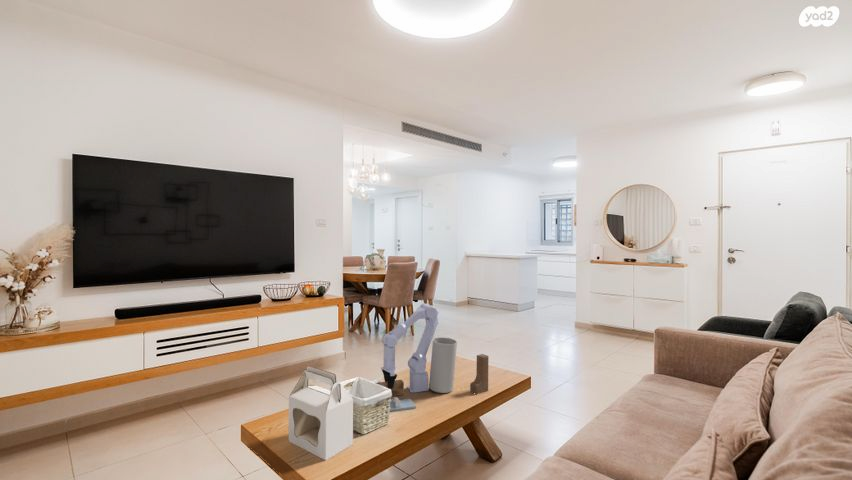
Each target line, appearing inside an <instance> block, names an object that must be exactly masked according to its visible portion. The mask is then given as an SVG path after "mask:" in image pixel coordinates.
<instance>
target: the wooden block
mask: <svg viewBox="0 0 852 480" xmlns="http://www.w3.org/2000/svg"><path fill="white" fill-rule="evenodd" d="M486 390H488V391H489V355H487V354H484V353H481V354H477V355H476V376H475V379H474V380H473V381H471V382H470V385H469V391H470V393H472V394H474V393H475V394H474V395H479V394H482V393H484V392H483V391H485V392H487V391H486ZM481 392H482V393H481ZM478 393H479V394H478Z"/></svg>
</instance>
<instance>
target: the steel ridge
mask: <svg viewBox="0 0 852 480" xmlns="http://www.w3.org/2000/svg"><path fill="white" fill-rule="evenodd" d="M399 400H400V399H399V398H398V397H397V396H395V397H391V401H392V402H393V404H394V406H395V408H399V407H401V402H400V401H399Z"/></svg>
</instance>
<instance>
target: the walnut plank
mask: <svg viewBox="0 0 852 480" xmlns="http://www.w3.org/2000/svg"><path fill="white" fill-rule="evenodd" d="M375 383H376V384H379V385H381V386H384V387H386V388H388V382H385V381H381V382H375ZM404 385H405V384H404V381H403V380H402V379H395V382H394V386H393V389H391V392H392V396H399V395H404V393H405V392H404V391H405V389H404ZM388 389H389V388H388ZM392 396H391V397H392Z"/></svg>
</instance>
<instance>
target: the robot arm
mask: <svg viewBox="0 0 852 480" xmlns="http://www.w3.org/2000/svg"><path fill="white" fill-rule="evenodd" d="M438 315H439V311H438V309H437V307H435V306H434V305H431V304H428V303H422V304H420V305H419V306H418V307H417V308H416V310H415V311H414V312H413V313H412V314H411V315H410V316H409V317H408V318H407V319H406V320H405V321H404V322H403V323H399V324H396V325H395V327H394V328H393V329H392V330H390V331H389V332H388V333H386V334H384V336H383V337H382V339H381V342H382V344H383V366H382V367H380V370H381V371H382V374H383V379H384V380H383V381H384V382H388V388H389V389H393V386H394V382H395V380H397V377H398V374H395V372H396V371H395V370H396V346H397V344H398V341H399V340H400V339H401V338H403V336H405V335H406V334H407V333H408V329H409V328H410V327H411V326H413V325H414V324H415V323H416V322H417V321H419V320H422V319H423V320H424V321H425V322H426V325H425V327H424V330H423V333H422V335H421V338H420V339H419V340H420V341H419V342H418V345H417V347H416V350H415V352H413V353H412V355H411V356H410V358H409V359H408V360H407V366H408V368H409V385H408V386H406V388H407V389H408V390H409V392H410V393H419V392H420V393H421V392H428V391H429V390H430V388H429V373H428V371H426V370H427V369H426V368H427V367H426V365H427V357H426V356H427V353H428V351H429V348H430V345H431V343H432V341H433V339H434V338H433V337H434V335H435V332H436V330H437V326H438V323H439V322H438V321H439V319H438V318H439V317H438Z"/></svg>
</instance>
